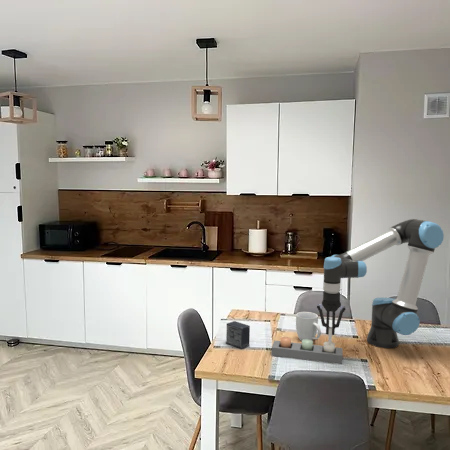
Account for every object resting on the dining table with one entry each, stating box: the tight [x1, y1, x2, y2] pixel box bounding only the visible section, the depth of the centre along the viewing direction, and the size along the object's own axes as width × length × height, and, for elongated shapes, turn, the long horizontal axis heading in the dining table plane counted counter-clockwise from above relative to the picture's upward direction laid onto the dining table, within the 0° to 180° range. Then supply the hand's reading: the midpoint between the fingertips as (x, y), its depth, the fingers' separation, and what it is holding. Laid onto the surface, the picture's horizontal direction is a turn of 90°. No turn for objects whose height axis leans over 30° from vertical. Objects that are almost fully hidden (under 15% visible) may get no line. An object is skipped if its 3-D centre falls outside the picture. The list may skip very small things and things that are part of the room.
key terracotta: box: [279, 336, 292, 348], centre depth 204 cm, size 5×5×4 cm
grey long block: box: [270, 340, 343, 365], centre depth 202 cm, size 32×9×4 cm, turn 75°
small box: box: [225, 320, 251, 350], centre depth 214 cm, size 11×6×10 cm, turn 47°
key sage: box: [301, 339, 314, 351], centre depth 202 cm, size 5×5×4 cm
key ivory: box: [323, 341, 336, 353], centre depth 199 cm, size 5×5×4 cm
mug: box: [295, 311, 322, 342], centre depth 221 cm, size 15×11×13 cm
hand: (330, 341), depth 199 cm, fingers closed
